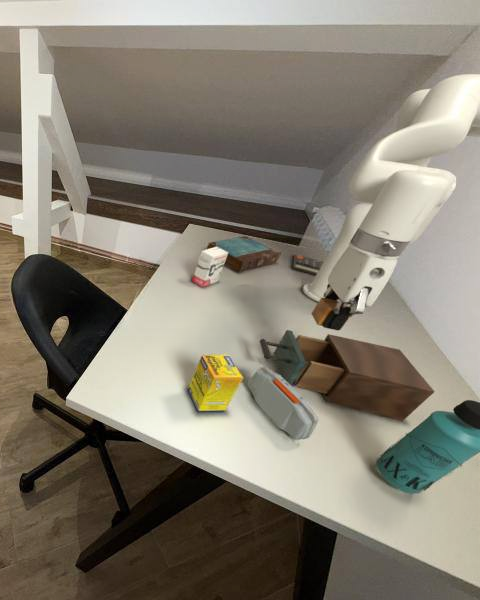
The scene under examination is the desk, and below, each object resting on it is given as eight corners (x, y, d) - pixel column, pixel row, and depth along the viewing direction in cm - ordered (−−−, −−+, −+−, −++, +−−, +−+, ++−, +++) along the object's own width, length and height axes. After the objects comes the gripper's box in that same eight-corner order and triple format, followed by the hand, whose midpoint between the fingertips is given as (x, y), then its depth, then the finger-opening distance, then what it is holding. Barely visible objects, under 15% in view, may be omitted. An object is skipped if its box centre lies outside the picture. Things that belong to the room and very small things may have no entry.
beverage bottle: (367, 454, 58) (446, 383, 47) (413, 476, 56) (508, 406, 44) (370, 483, 54) (458, 412, 43) (420, 509, 51) (528, 440, 40)
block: (311, 313, 70) (321, 297, 67) (333, 318, 69) (344, 302, 66) (317, 325, 66) (328, 308, 64) (340, 330, 65) (352, 313, 63)
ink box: (202, 287, 106) (213, 256, 99) (191, 281, 109) (201, 250, 103) (218, 282, 110) (229, 251, 103) (206, 275, 113) (216, 246, 107)
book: (238, 273, 117) (243, 261, 114) (203, 253, 130) (207, 242, 127) (276, 263, 126) (281, 252, 124) (240, 246, 139) (244, 235, 136)
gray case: (305, 443, 59) (327, 418, 55) (293, 447, 59) (314, 421, 54) (251, 385, 71) (266, 360, 66) (241, 387, 70) (255, 362, 65)
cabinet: (325, 402, 68) (350, 371, 63) (308, 362, 78) (328, 334, 73) (402, 421, 65) (435, 391, 60) (374, 378, 76) (399, 349, 70)
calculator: (326, 262, 129) (327, 276, 118) (325, 264, 129) (326, 278, 119) (295, 253, 134) (293, 266, 123) (294, 255, 134) (292, 268, 123)
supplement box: (186, 390, 68) (201, 354, 62) (212, 389, 69) (229, 354, 63) (197, 413, 63) (213, 377, 57) (224, 413, 64) (244, 376, 58)
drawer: (257, 379, 71) (272, 355, 67) (250, 347, 80) (262, 324, 76) (351, 403, 67) (373, 379, 63) (332, 367, 76) (349, 343, 72)
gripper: (429, 267, 50) (362, 350, 60) (378, 231, 63) (331, 304, 73) (375, 258, 51) (319, 341, 61) (337, 224, 65) (296, 297, 75)
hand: (326, 320), depth 67 cm, fingers closed on block, 4 cm apart
